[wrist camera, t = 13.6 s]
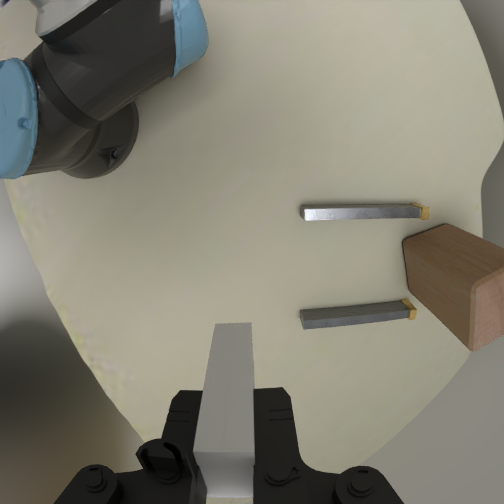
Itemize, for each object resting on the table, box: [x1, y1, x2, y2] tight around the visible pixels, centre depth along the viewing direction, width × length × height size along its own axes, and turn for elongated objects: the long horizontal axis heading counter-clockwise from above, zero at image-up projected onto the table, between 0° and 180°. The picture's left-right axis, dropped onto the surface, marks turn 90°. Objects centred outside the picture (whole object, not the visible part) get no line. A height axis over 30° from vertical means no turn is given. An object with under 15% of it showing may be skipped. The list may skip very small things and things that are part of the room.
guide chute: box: [300, 203, 429, 329], centre depth 44 cm, size 18×19×4 cm
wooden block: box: [403, 224, 504, 351], centre depth 37 cm, size 10×10×20 cm
